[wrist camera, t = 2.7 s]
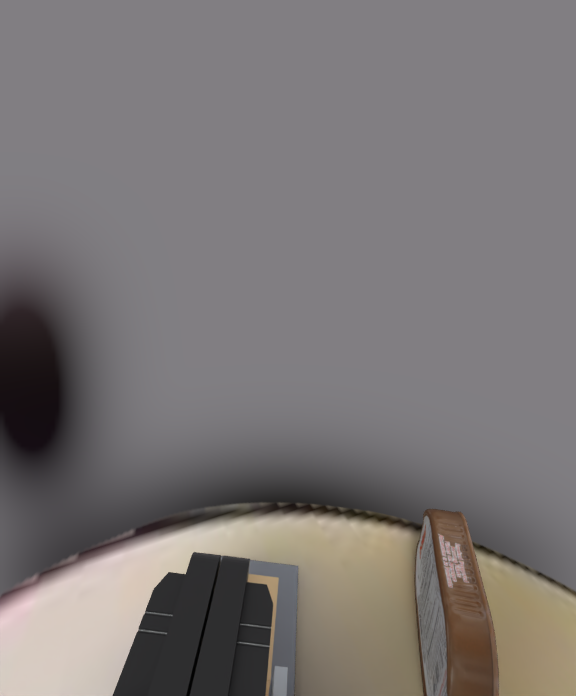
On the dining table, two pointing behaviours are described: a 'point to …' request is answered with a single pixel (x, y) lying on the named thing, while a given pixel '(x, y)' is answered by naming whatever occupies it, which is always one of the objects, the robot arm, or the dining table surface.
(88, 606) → the dining table surface
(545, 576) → the dining table surface
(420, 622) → the tin
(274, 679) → the long grey tray
